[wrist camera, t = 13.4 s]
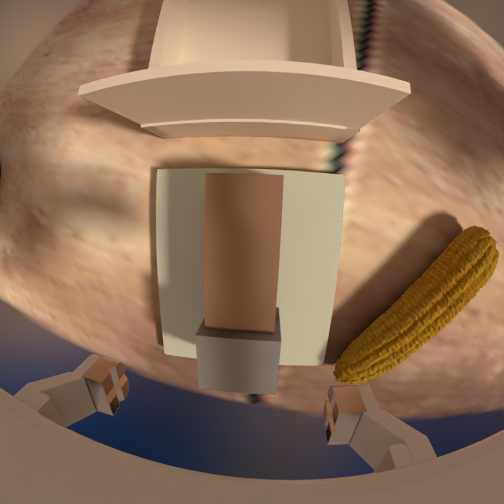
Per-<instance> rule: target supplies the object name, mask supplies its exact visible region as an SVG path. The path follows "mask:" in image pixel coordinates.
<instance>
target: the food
mask: <svg viewBox="0 0 504 504" xmlns="http://www.w3.org/2000/svg"><path fill="white" fill-rule="evenodd" d="M496 243H497V242H496V241H495V240H494V239H493V238H492V237H490V233H489V232H488V230H485V229H484V228H481V227H477V226H472V227H469V228H467V229H465V230H464V231H462V232H461V233H460V234H459V235H458V236H456V237H455V238H454V240H453V241H452V242H451V243H449V245H448V246H447V248H446V249H445V250H444V251H443V253H442V254H441V255H440V256H439V257H438V258H437V259H436V260H435V261H434V262H433V263H432V264H431V266H430V267H429V268H428V269H427V270H426V271H425V272H424V273H423V274H422V276H421V277H419V278H418V279H417V280H416V281H415V282H414V283H413V284H412V285H411V286H410V287H409V288H408V289H407V290H406V291H405V292H404V294H401V297H400V298H399V299H398V300H397V301H396V302H395V303H394V304H393V305H392V306H391V307H390V308H389V309H388V310H386V311H385V313H383V314H382V315H380V316H379V317H378V318H377V319H376V320H375V321H374V322H373V323H372V324H370V325H369V326H368V327H367V328H366V329H365V330H364V331H363V332H362V333H361V334H360V335H359V336H358V337H357V338H355V340H354V341H352V343H351V344H350V345H349V346H348V347H347V348H346V350H345V351H343V353H342V355H341V356H340V358H339V359H337V361H336V364H337V365H335V371H334V372H333V374H334V376H336V378H335V379H336V380H337V381H339V382H342V383H345V384H351V385H356V384H357V383H361V384H362V383H366V382H367V381H370V380H371V379H375V378H376V377H378V376H380V375H382V374H384V373H386V372H388V371H389V370H391V369H392V368H394V367H396V366H398V365H399V364H400V363H402V361H403V360H405V359H406V358H407V357H409V356H410V355H411V354H413V353H415V352H416V351H417V350H418V349H420V348H421V347H422V345H423V344H424V343H427V342H428V341H429V340H430V339H431V338H433V337H434V336H435V335H436V334H437V333H439V332H440V331H441V330H442V329H443V328H445V326H446V324H448V323H450V322H451V320H452V319H453V318H454V317H455V316H456V315H457V314H458V313H459V312H460V311H461V310H462V309H463V308H464V307H465V306H466V305H467V304H468V303H469V302H470V300H471V299H472V298H474V296H475V295H476V293H477V292H478V291H479V290H480V288H483V285H486V283H487V282H488V280H489V279H490V277H491V276H492V274H493V272H494V270H495V268H496V265H497V261H498V257H499V252H498V251H497V249H496Z"/></svg>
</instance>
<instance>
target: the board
mask: <svg viewBox="0 0 504 504" xmlns="http://www.w3.org/2000/svg"><path fill="white" fill-rule="evenodd" d="M206 173H249V174H274V175H284V181H283V204H282V224H281V242H280V259H279V274H278V289H277V303H276V308H279V316H280V329H281V351H280V360H279V365H323V363H324V358H325V352H326V347H327V342H328V336H329V330H330V324H331V318H332V311H333V304H334V297H335V290H336V282H337V274H338V266H339V256H340V246H341V235H342V223H343V208H344V190H345V175H338V174H328V173H317V172H304V171H290V170H271V169H244V168H181V169H157V184H156V248H157V272H158V289H159V303H160V315H161V325H162V335H163V343H164V352H165V354H168V355H175V356H182V357H189V358H197V355H196V338H195V335H196V333H197V331H198V329H199V327H200V325H201V323H202V321H203V319H204V317H205V303H204V214H205V179H206Z"/></svg>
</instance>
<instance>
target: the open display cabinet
mask: <svg viewBox="0 0 504 504" xmlns="http://www.w3.org/2000/svg"><path fill="white" fill-rule="evenodd" d="M410 94H411V89H410V83H409V82H406V81H402V80H399V79H395V78H391V77H387V76H383V75H379V74H374V73H370V72H365V71H360V70H357V68H356V57H355V48H354V40H353V32H352V25H351V19H350V12H349V7H348V1H347V0H164V1H163V4H162V8H161V12H160V16H159V19H158V24H157V28H156V32H155V37H154V41H153V46H152V51H151V56H150V62H149V67H148V69H144V70H139V71H134V72H129V73H125V74H120V75H116V76H112V77H108V78H104V79H101V80H97V81H94V82H90V83H87V84H84V85H80V87H79V92H78V96H79V97H82V98H84V99H86V100H89V101H91V102H93V103H95V104H97V105H100V106H102V107H104V108H106V109H108V110H111V111H113V112H115V113H117V114H119V115H121V116H123V117H125V118H128V119H130V120H132V121H134V122H136V123H138V124H140V125H141V128H143V129H145V130H147V131H149V132H151V133H153V134H155V135H157V136H159V137H161V138H163V139H167V138H183V137H209V136H251V137H278V138H294V139H307V140H318V141H328V142H337V143H343V142H345V141H346V140H348V139H349V138H350V137H352V136H353V135H355V134H356V133H358V132H359V131H360V128H361V127H363V126H364V125H366V124H367V123H369V122H370V121H371V120H373V119H374V118H376V117H377V116H379V115H380V114H382V113H383V112H385V111H386V110H387V109H389V108H390V107H392V106H393V105H395V104H396V103H398V102H399V101H401V100H402V99H404V98H405V97H407V96H408V95H410Z"/></svg>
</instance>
